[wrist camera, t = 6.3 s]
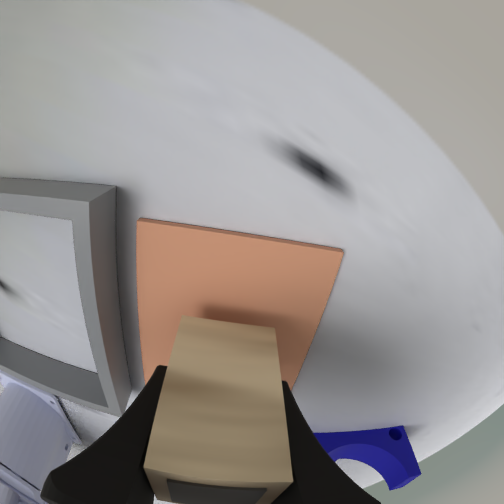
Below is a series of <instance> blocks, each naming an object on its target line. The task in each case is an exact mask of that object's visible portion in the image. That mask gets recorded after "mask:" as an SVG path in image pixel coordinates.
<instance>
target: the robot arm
mask: <svg viewBox="0 0 504 504" xmlns="http://www.w3.org/2000/svg"><path fill="white" fill-rule="evenodd" d="M167 367H168V366H164V365H158V366H157V367H156V369H155V371H154V373H153V374H152V376H151V378H150V379H149V381H148V382H147V384H146V385H145V387H144V388H143V390H142V391H141V392H140V394H139V395H138V396H137V398H136V399H135V400H134V402H133V403H132V404H131V405H130V407H129V408H128V409H127V410H126V411H125V413H124V414H123V415H122V416H121V417H120V418H119V419H118V420H117V422H116V423H115V424H114V425H113V426H112V427H111V428H110V429H109V430H108V431H107V432H106V433H104V434H103V435H102V436H101V437H100V438H99V439H98V440H97V441H95V442H94V443H93V444H92V445H90V446H89V447H88V448H87V449H85V450H84V451H82V452H81V453H80V454H78V455H77V456H75V457H74V458H72V459H71V460H69V461H68V462H66V460H67V457H68V455H69V452H70V449H71V446H72V444H73V442H74V443H76V444H81V440H80V439H79V437H78V435H77V434H76V432H75V431H74V429H73V427H72V425H71V424H70V422H69V420H68V419H67V417H66V415H65V413H64V411H63V410H62V408H61V406H60V404H59V402H58V400H57V398H56V397H55V396H54V395H53V394H51V393H48V392H46V391H44V390H41V389H39V388H37V387H35V386H32V385H30V384H28V383H26V382H24V381H22V380H20V379H18V378H16V377H14V376H12V375H10V374H8V373H6V372H4V371H2V370H0V382H1V384H2V386H3V387H4V390H3V392H2V393H1V395H0V504H153V501H154V492H153V489H152V487H151V485H150V482H149V480H148V477H147V475H146V472H145V470H144V462H145V458H146V453H147V448H148V444H149V439H150V435H151V431H152V426H153V422H154V418H155V414H156V410H157V406H158V402H159V398H160V394H161V390H162V386H163V382H164V378H165V374H166V370H167ZM281 381H282V380H281ZM282 389H283V397H284V405H285V414H286V422H287V431H288V440H289V449H290V457H291V466H292V476H293V482H292V483H291V484H290V485H289V486H288V487H287V488H286V489H285V490H284V491H283V492H282V493H281V494H280V495H279V496H278V497H277V498H276V499H275V500H274V501H273V502H272V503H271V504H381V503H380V502H379V501H378V500H376V499H375V498H374V497H372V496H371V495H369V494H368V493H367V492H365V491H364V490H363V489H362V488H361V487H359V486H358V485H357V484H356V483H355V482H354V481H353V480H352V479H350V478H349V477H348V476H347V475H346V474H345V473H344V472H343V471H342V470H341V469H340V468H339V466H338V465H337V464H336V463H335V462H334V461H333V460H332V458H331V457H330V456H329V455H328V453H327V452H326V451H325V450H324V448H323V447H322V445H321V444H320V443H319V441H318V440H317V438H316V437H315V435H314V434H313V432H312V430H311V429H310V427H309V426H308V424H307V422H306V420H305V418H304V417H303V415H302V413H301V411H300V409H299V407H298V405H297V403H296V401H295V399H294V397H293V395H292V392H291V390H290V388H289V385H288V383H287V382H286V381H282ZM40 491H41V492H40Z"/></svg>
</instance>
